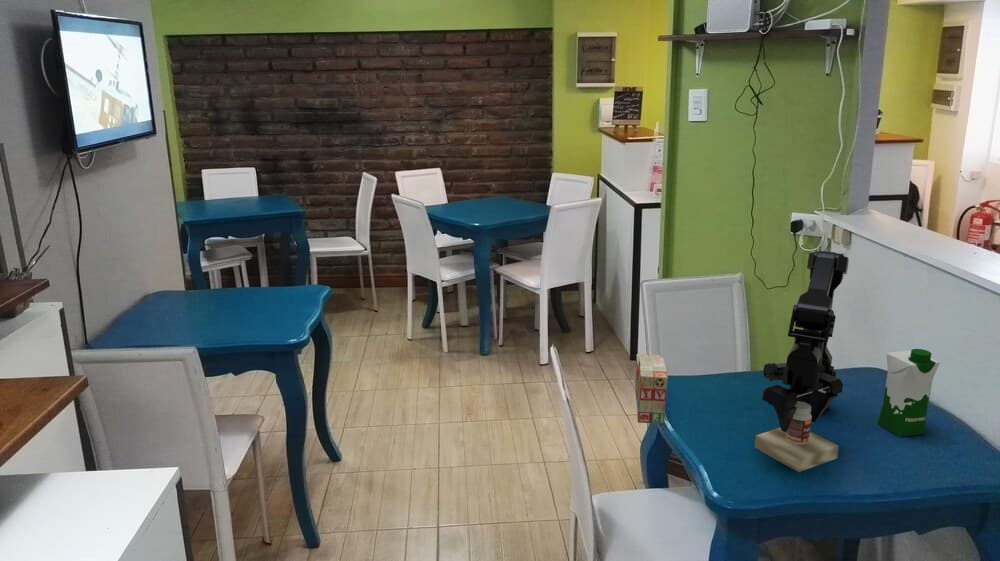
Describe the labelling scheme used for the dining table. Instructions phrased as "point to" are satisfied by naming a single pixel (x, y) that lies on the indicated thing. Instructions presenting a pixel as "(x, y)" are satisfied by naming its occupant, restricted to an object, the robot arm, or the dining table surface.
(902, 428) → the milk carton
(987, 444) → the dining table surface
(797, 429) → the pill bottle
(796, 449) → the birch block
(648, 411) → the stack of blocks
